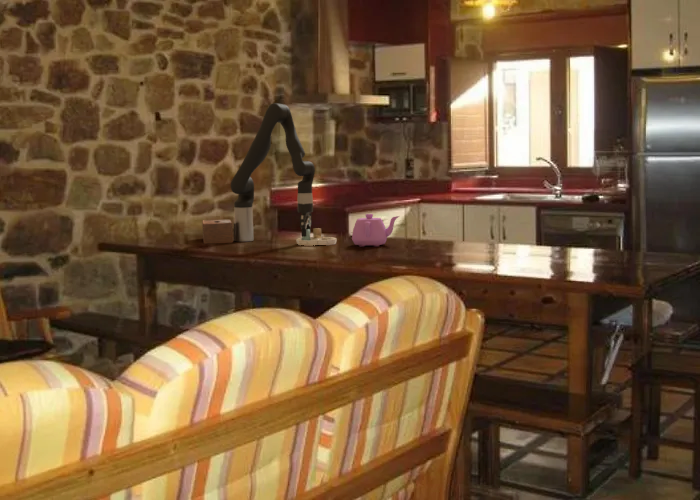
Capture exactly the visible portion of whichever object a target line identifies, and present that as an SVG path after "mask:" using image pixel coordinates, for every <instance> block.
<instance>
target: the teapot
mask: <svg viewBox="0 0 700 500" xmlns="http://www.w3.org/2000/svg"><path fill="white" fill-rule="evenodd" d="M399 217H400V215H399V216H397V215H396V216H393V217H391V219H390V220H389V221H390V222H389V225H388V227H387V228H386V226H385V223H384V221H383V219H382V218H381V217H374V214H373V213H365V217H360V218H357V219H356V221H355V223H354V226H353V229H352V236H351V239H352V242H353V244H354V245H355V246H358V247H366V246H373V247H380V245H385V244H386V242H387V240H388V237H389V236H391V235H392V234H393V230H394V225H395V221H396V220H397V219H398V218H399Z"/></svg>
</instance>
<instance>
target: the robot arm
mask: <svg viewBox="0 0 700 500" xmlns="http://www.w3.org/2000/svg"><path fill="white" fill-rule="evenodd" d="M277 123H279V124H280V125H281V126H282V129H283V131H284V133H285V145H286V148H287V150H288V153H289V155H290V157H291V163H292V169H293V172H294V173H295V175H297V177H298V176H299V177H302V180H300V181H298V183H297V196H296V197H297V213H301V215H299V228H300V229H301V231H300V232H301V237H302V236H306V229H310V230H311V226H312V213H314V201H313V200H314V198H313V182H314V177H315V172H316V168H315V165H314V163H313V162H312V161H309V160H307V161H306V160H305V161H304V160H303V158H304V157H305V155H306V151H305V150H304V148H303V145H302V143H301V141H300V138H299V136H298V133H297V130H296V127H295V123H294V120H293V115H292V112H291V109H290V107H289V106H288V105H287V104H284V103H277V102H273V103H271V104H270V105H268V107H267V109H266V111H265V114H264V116H263V119H262V121H261V124H260V127H259V129H258V130H257V132H256V135H255V137H254V139H253V140H252V142H251V144H250V146H249V149H248V150H247V153H246V155H245V157H244V158H243V160H242V163H241V165H240V166H239V168H238V169H237V171H236V173H235V174H234V176H233V177H232V180H231V181H230V190H231V191H232V193H233V194H236V195H238V197H237V199H235V201H234V202H233V204H234V205H233V206H234V208H233V210H234V222H233V242H252V241H254V211H253V203H254V200H255V183H254V180H253V178H252V174H253V172H255V171H256V170H257V168H258V167H260V165H261V164H262V163H263V162H264V161H265V159H266V157H267V156H268V154H269V152H270V150H271V145H272V133H273V130H274V128H275V126H276V125H277Z"/></svg>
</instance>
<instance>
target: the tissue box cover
mask: <svg viewBox="0 0 700 500" xmlns="http://www.w3.org/2000/svg"><path fill="white" fill-rule="evenodd" d="M201 221H202V240H203V244H227V243H228V244H230V243H234V230H233V222H232V220H231V219H205V220H204V219H203V220H201Z"/></svg>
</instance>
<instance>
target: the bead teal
mask: <svg viewBox="0 0 700 500" xmlns="http://www.w3.org/2000/svg"><path fill="white" fill-rule="evenodd" d="M310 237H311V228H310V229H306V236H302V235H301V238H302V240H310Z"/></svg>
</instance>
